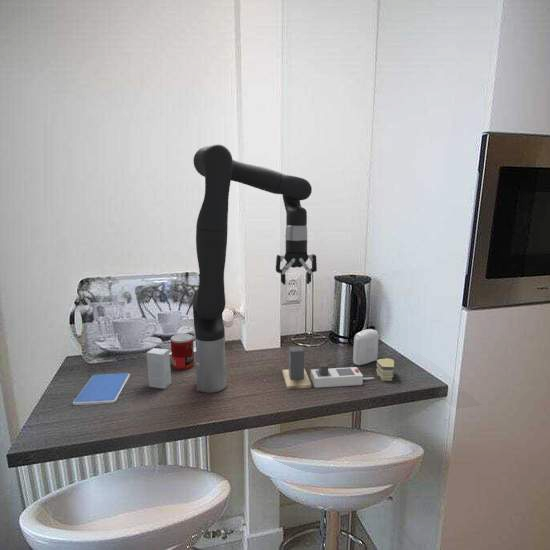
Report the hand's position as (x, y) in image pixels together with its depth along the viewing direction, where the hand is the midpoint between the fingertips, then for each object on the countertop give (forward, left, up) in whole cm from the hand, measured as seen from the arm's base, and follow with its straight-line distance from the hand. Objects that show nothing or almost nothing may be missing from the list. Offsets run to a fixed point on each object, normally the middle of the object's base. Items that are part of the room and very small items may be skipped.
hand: (296, 283), depth 140 cm
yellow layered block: (+29, -15, -31) cm, 44 cm away
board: (-2, -13, -30) cm, 33 cm away
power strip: (+14, -16, -30) cm, 37 cm away
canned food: (-41, +3, -30) cm, 51 cm away
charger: (-2, -13, -29) cm, 32 cm away
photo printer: (+26, -2, -30) cm, 40 cm away
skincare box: (-47, -11, -30) cm, 57 cm away
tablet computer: (-65, -11, -31) cm, 73 cm away
